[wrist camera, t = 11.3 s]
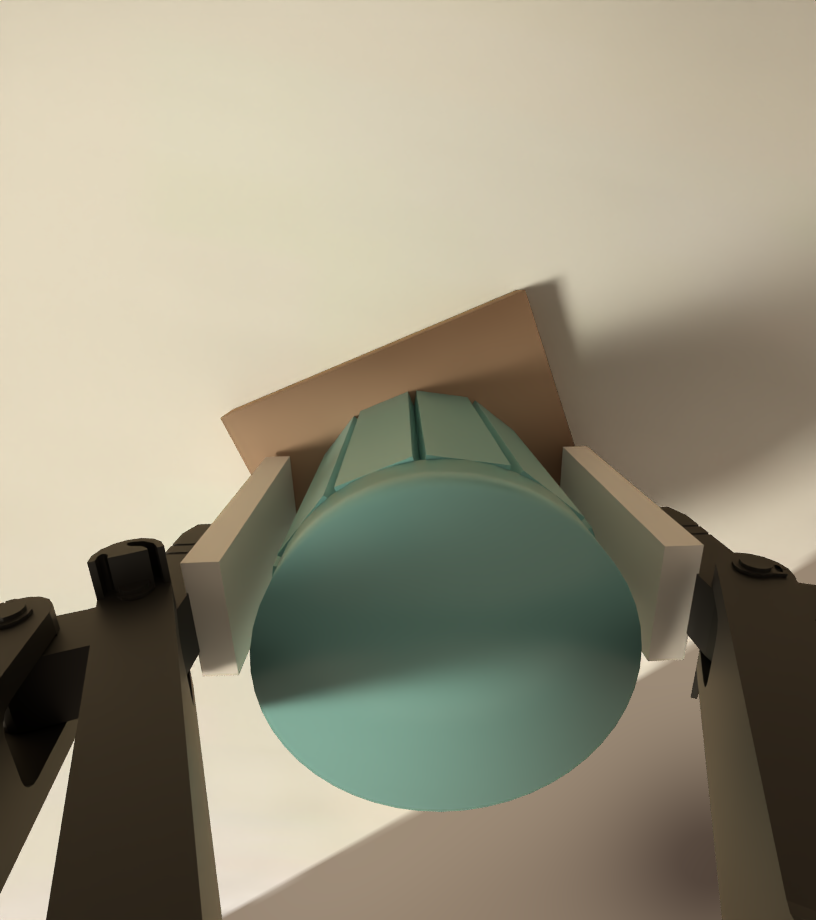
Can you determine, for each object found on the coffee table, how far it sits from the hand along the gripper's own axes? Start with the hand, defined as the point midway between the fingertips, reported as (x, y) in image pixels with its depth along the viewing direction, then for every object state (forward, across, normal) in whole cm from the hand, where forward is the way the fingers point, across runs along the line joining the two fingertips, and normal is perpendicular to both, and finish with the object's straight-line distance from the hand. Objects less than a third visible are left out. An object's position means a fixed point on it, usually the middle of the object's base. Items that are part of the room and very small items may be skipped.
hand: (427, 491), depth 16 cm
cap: (0, 0, 0) cm, 0 cm away
